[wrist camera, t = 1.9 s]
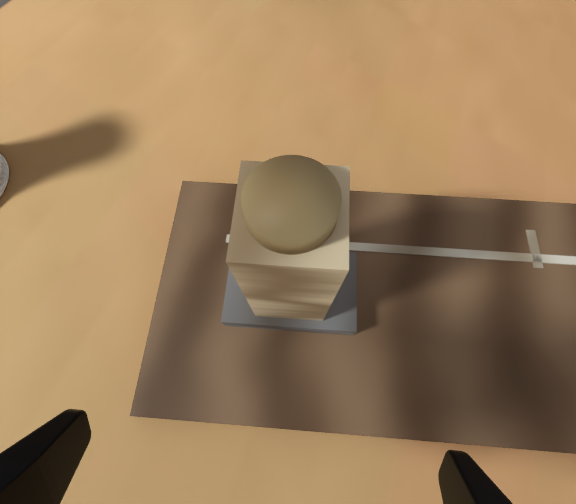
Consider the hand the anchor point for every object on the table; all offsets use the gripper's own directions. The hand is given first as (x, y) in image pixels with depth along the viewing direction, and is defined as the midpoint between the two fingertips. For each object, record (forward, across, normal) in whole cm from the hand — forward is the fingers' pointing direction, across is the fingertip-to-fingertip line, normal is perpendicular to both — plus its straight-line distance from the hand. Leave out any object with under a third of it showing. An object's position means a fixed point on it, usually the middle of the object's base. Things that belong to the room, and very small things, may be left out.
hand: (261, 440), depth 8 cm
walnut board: (+14, -8, +4) cm, 17 cm away
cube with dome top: (+13, 0, +4) cm, 14 cm away
